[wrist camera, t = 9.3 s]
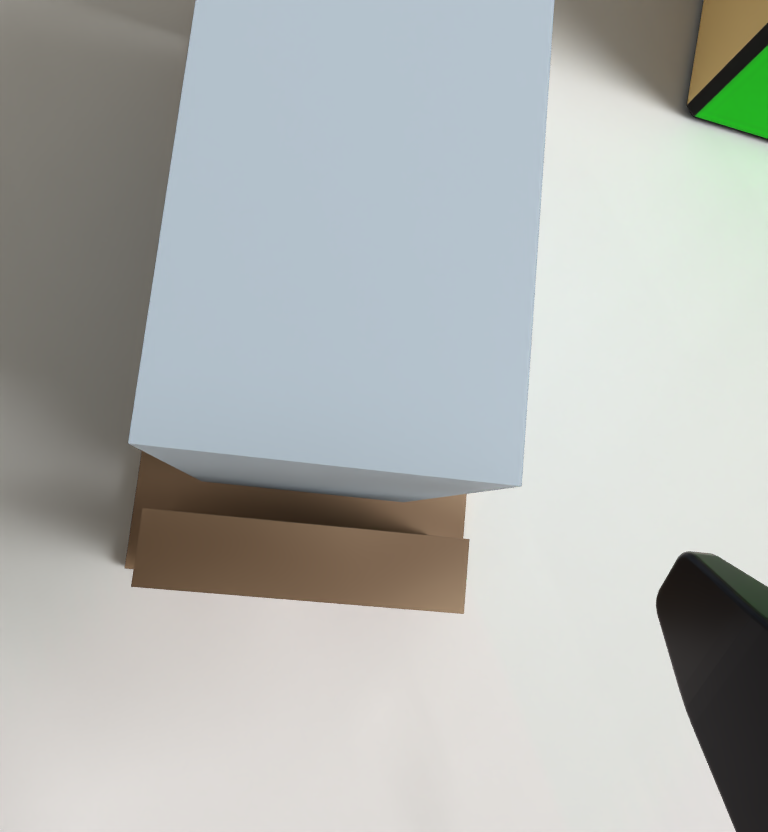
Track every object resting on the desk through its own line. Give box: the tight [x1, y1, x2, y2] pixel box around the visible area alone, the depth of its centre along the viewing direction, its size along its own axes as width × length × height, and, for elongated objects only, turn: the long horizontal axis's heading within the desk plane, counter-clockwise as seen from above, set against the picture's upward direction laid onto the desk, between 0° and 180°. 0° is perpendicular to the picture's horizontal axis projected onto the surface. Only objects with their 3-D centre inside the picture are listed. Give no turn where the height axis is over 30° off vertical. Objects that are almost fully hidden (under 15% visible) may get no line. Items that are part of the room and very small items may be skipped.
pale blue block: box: [128, 0, 554, 502], centre depth 15 cm, size 12×5×9 cm, turn 174°
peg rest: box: [125, 451, 469, 614], centre depth 19 cm, size 17×9×5 cm, turn 174°
